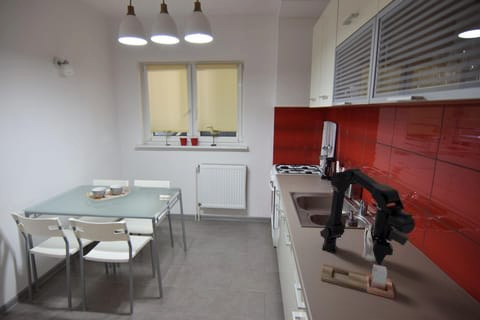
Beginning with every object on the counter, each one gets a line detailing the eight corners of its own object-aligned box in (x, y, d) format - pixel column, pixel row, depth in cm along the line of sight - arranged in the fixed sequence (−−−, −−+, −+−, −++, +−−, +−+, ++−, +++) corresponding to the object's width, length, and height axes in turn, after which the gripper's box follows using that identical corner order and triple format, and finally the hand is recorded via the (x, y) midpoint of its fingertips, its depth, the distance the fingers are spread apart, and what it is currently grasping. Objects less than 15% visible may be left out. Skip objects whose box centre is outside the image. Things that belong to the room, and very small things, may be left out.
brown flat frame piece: (323, 266, 117) (323, 264, 117) (390, 282, 107) (391, 279, 107) (320, 279, 108) (321, 277, 108) (393, 298, 98) (394, 296, 98)
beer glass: (358, 257, 125) (362, 227, 121) (365, 252, 129) (369, 223, 126) (373, 264, 119) (377, 233, 116) (380, 258, 124) (384, 228, 121)
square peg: (370, 281, 108) (373, 264, 106) (383, 284, 106) (386, 266, 104) (371, 288, 103) (373, 270, 102) (384, 292, 102) (387, 273, 100)
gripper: (413, 236, 88) (405, 278, 92) (404, 215, 105) (398, 250, 109) (375, 230, 93) (370, 269, 96) (372, 210, 109) (368, 244, 113)
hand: (377, 258), depth 103 cm, fingers open, 9 cm apart
